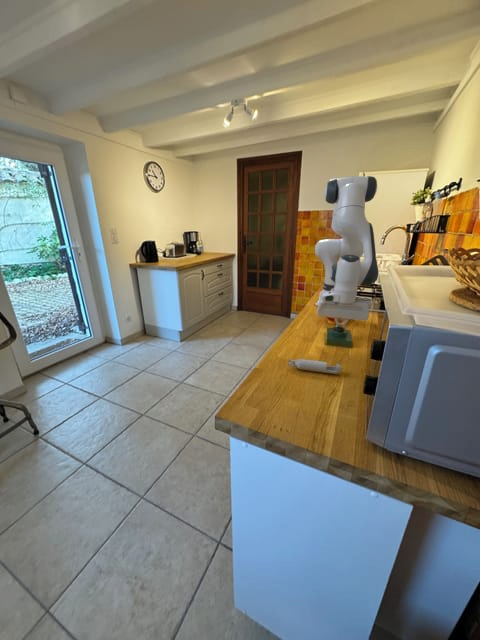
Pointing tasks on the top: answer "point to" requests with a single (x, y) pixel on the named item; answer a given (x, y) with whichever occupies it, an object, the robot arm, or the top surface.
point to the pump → (339, 329)
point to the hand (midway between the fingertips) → (339, 327)
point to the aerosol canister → (315, 366)
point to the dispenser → (338, 338)
